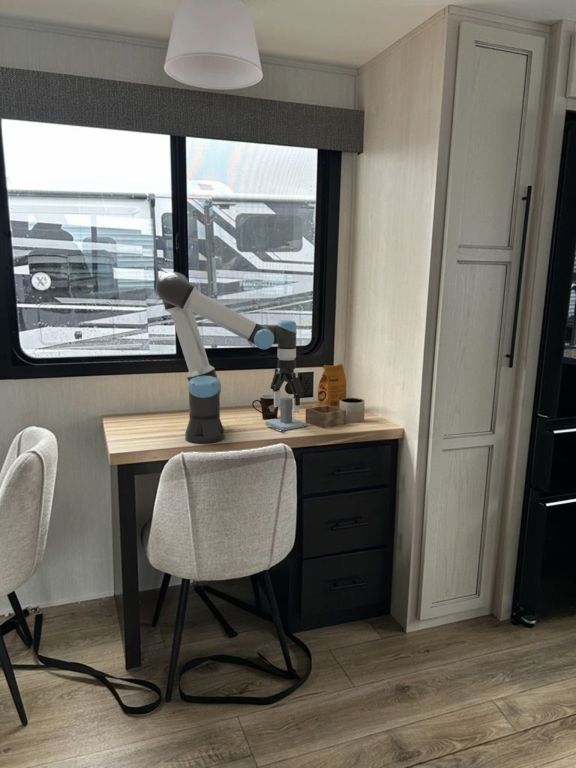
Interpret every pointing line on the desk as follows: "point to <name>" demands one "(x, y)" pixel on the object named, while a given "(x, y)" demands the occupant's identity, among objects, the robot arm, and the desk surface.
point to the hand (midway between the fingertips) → (286, 409)
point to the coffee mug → (267, 407)
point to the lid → (285, 417)
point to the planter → (353, 409)
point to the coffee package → (332, 386)
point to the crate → (325, 416)
